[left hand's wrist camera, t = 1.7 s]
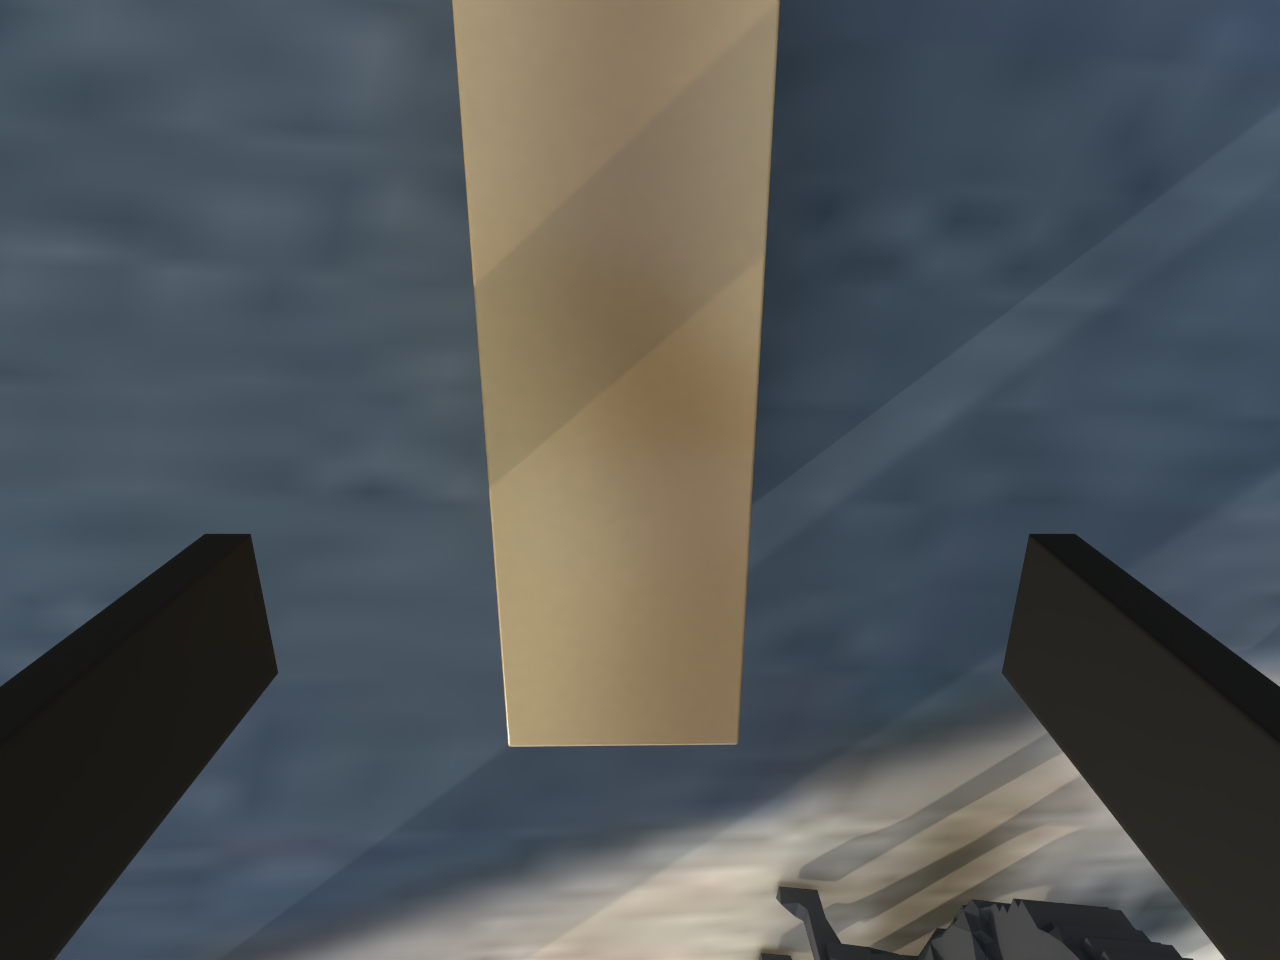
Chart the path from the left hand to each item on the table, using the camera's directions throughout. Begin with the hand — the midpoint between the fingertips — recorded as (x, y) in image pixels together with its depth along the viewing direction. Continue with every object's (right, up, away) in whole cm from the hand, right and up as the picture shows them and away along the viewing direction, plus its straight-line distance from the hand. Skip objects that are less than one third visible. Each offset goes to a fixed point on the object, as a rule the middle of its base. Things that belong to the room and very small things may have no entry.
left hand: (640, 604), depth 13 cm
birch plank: (0, +11, +6) cm, 13 cm away
